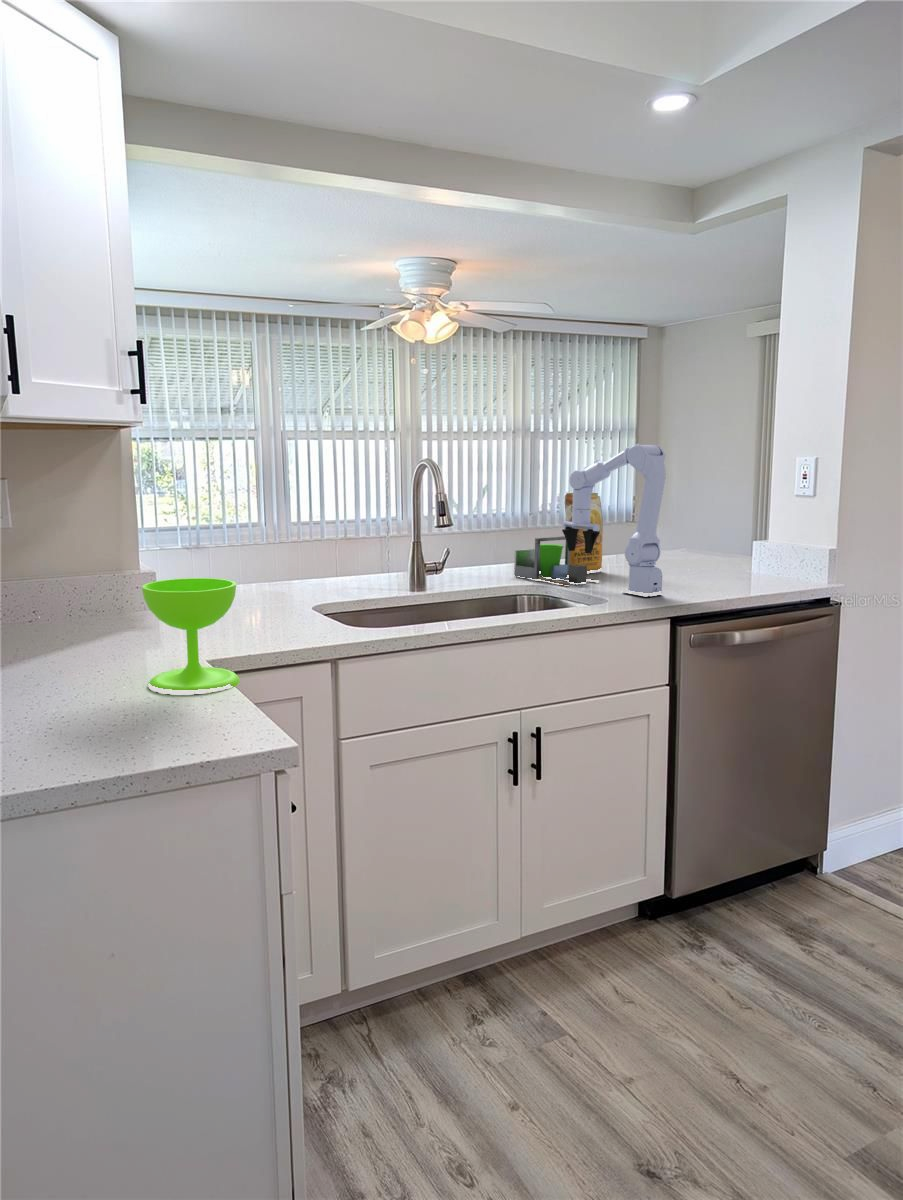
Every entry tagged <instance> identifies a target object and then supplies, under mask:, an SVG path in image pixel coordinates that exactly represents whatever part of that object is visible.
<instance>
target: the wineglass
mask: <svg viewBox="0 0 903 1200" xmlns="http://www.w3.org/2000/svg"><path fill="white" fill-rule="evenodd" d="M236 588H237V582H236V581H234V580H230V579H224V578H213V577H212V578H211V577H187V578H184V577H183V578H173V579H172V578H171V579H162V580H155V581H152V582H147V583H145V584H143V585H142V586H141V591H142V594H143V595H142V596H143V600H144V601H145V603H146V605H147V607H148V609H149V610H150V611H151V613H152V614H153V615H154V616H155V617H156V618H157V619H158V620H159V621H161V622H162V623H164V624H166V625H167V626H169V627H172V628H176V629H179V630H183V631H184V630H185V631H186V649H187V654H186V655H187V664H186V666H185V667H184V668H178V669H173V670H168V671H164V672H162V673H159V674H157V675H155V676H153V677H152V678H151V679H150V680H149V681H150V682H148V684H149V683H150V684H151V685H152V686H155V687H158V688H163V689H172V690H198V689H210V688H217V687H223V686H226V685H228V684H230V685H231V686H233V687H232V688H235V687H236V686H238V684H239V683H240V680H241V679H240V677H239V676H238V675H237V674H236V673H235V671H232V670H229V669H226V668H222V667H221V668H220V667H212V666H211V667H210V666H206V667H205V666H202V665H201V663H200V659H199V657H200V656H199V654H200V653H199V632H198V630H201V629H204V628H206V627H209V626H211V625H214V624H215V623H216V622H218V621H219V620H220V619H222V618H224V616H225V615H226V614H227V613H228V611H229V610H230V609H231V607H232V604H233V603H234V599H235V597H236Z"/></svg>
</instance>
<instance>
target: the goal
mask: <svg viewBox="0 0 903 1200" xmlns="http://www.w3.org/2000/svg"><path fill="white" fill-rule="evenodd" d="M563 540H564V541H565V551H564V552H565V553H564V564H566V565H567V574H569V565H570V551H569V549H568V545H567V541H566V538H565V535H563V536H548V537H535V538H534V548H529V549H527V548H526V549H514V561H513V562H514V564H513V567H514V568H513V570H514V571H513V576H514V575H515V576H520V577H525V578H532V579H537V577H540V575H539V571H540V545H541V542H553V541H563ZM559 565H563V564H561V563H560V564H559Z"/></svg>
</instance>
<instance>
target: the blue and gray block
mask: <svg viewBox="0 0 903 1200" xmlns="http://www.w3.org/2000/svg"><path fill="white" fill-rule="evenodd" d="M587 575H588V574H587V566H585V565H579V564H576V565H569V578H566V577H567V565H566V564H565V563H564V564H562V565H552V566H551V578H552V579H556V578H560V579H564V580H569V582H574V583H581V582H586V577H587ZM586 583H587V582H586Z"/></svg>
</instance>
